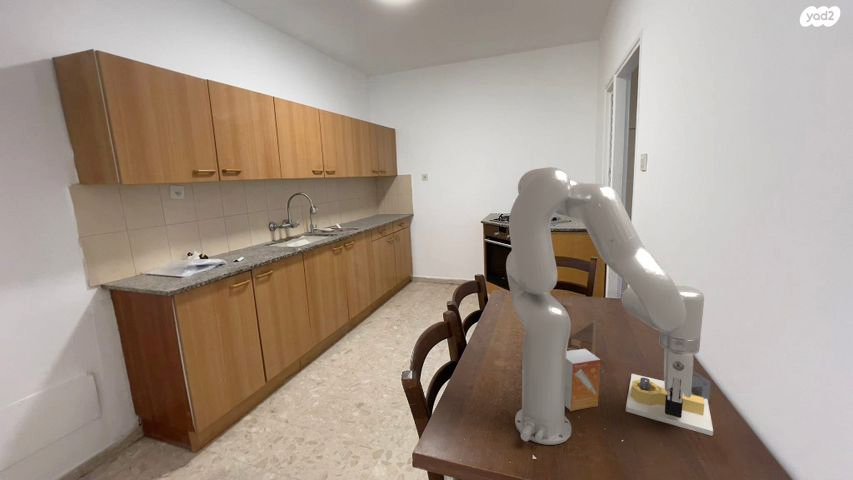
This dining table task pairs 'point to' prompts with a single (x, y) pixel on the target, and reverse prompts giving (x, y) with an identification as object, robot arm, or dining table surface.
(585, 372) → the small box
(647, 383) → the pin
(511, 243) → the robot arm
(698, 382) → the block
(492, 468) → the dining table surface
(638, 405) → the board
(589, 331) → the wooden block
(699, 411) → the link
